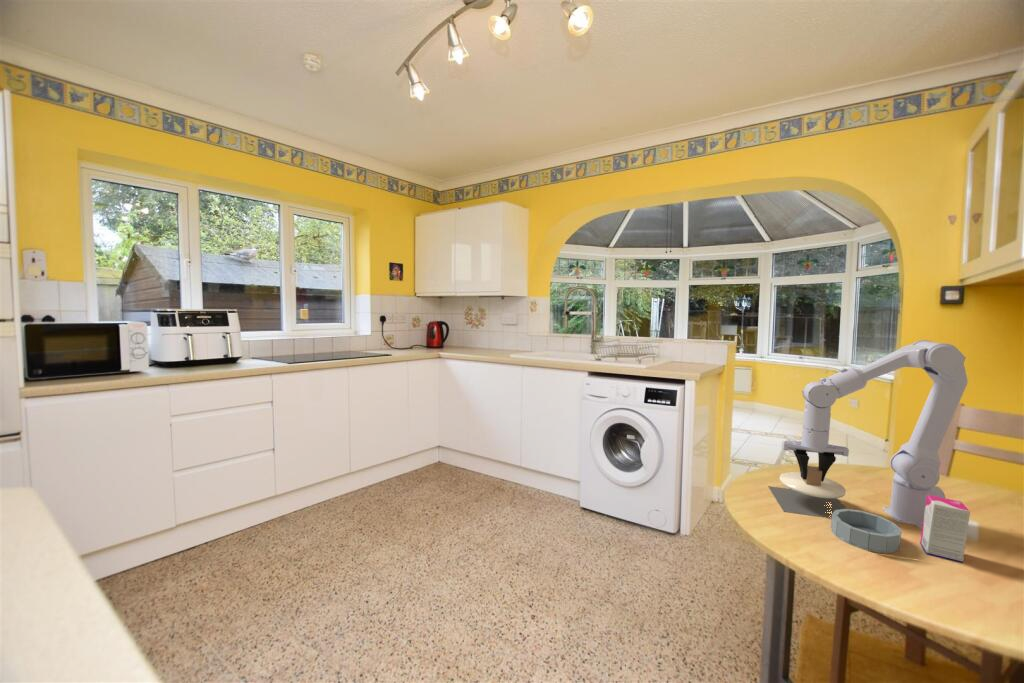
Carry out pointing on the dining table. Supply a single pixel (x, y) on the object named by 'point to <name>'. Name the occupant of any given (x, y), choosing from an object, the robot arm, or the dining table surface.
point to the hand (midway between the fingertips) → (811, 479)
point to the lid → (812, 484)
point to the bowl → (866, 530)
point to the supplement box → (945, 528)
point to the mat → (805, 503)
